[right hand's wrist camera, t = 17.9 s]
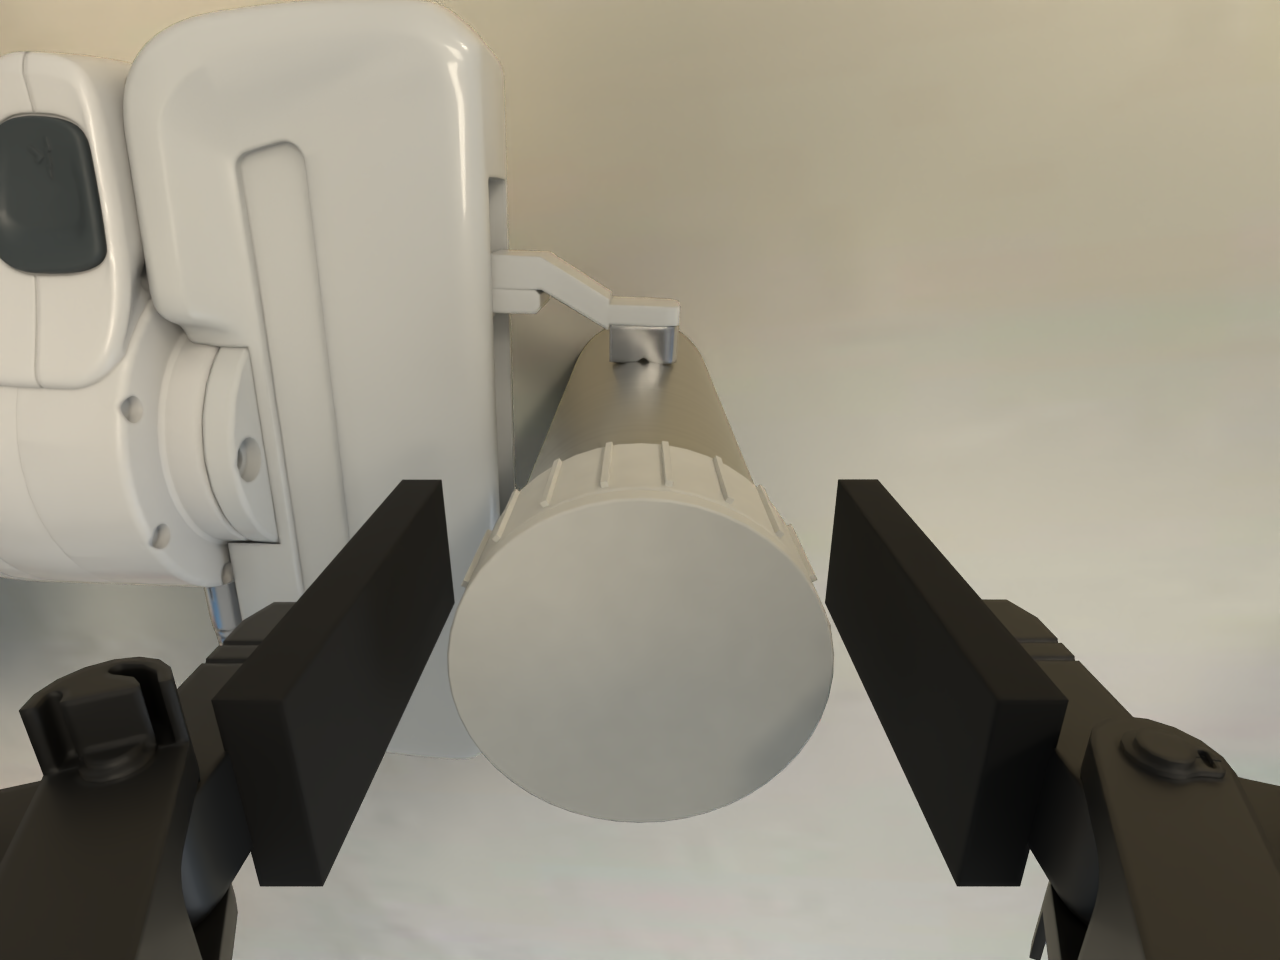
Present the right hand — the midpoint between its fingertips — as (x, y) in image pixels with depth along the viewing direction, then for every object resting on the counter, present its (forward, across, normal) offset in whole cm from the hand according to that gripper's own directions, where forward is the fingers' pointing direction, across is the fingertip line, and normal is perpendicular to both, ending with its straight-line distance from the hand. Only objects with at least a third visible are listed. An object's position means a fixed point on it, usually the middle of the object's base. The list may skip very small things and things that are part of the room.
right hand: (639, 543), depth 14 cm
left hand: (+6, -1, 0) cm, 6 cm away
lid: (-4, 0, 0) cm, 4 cm away
